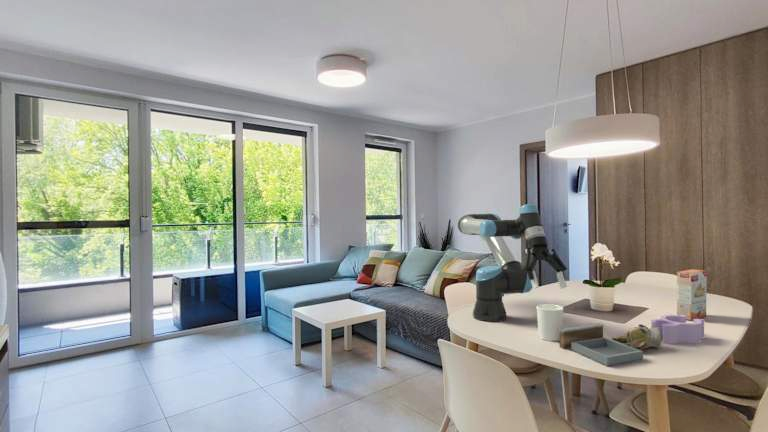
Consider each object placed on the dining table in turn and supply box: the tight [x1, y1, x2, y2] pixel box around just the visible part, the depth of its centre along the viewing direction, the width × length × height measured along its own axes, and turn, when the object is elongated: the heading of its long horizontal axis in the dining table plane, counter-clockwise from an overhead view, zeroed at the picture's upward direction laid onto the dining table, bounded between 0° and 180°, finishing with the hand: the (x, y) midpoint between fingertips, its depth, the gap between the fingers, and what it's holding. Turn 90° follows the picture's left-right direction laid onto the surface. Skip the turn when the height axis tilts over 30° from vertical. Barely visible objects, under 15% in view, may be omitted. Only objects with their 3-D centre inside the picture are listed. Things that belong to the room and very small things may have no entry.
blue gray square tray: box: [570, 336, 644, 368], centre depth 131 cm, size 15×15×3 cm
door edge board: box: [559, 323, 604, 350], centre depth 141 cm, size 2×18×7 cm, turn 107°
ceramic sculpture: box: [611, 324, 662, 351], centre depth 137 cm, size 11×9×15 cm
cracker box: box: [676, 268, 708, 321], centre depth 172 cm, size 14×6×21 cm, turn 118°
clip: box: [650, 314, 705, 345], centre depth 147 cm, size 20×12×7 cm, turn 111°
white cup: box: [535, 303, 564, 342], centre depth 150 cm, size 10×10×12 cm
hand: (550, 287), depth 154 cm, fingers open, 13 cm apart
